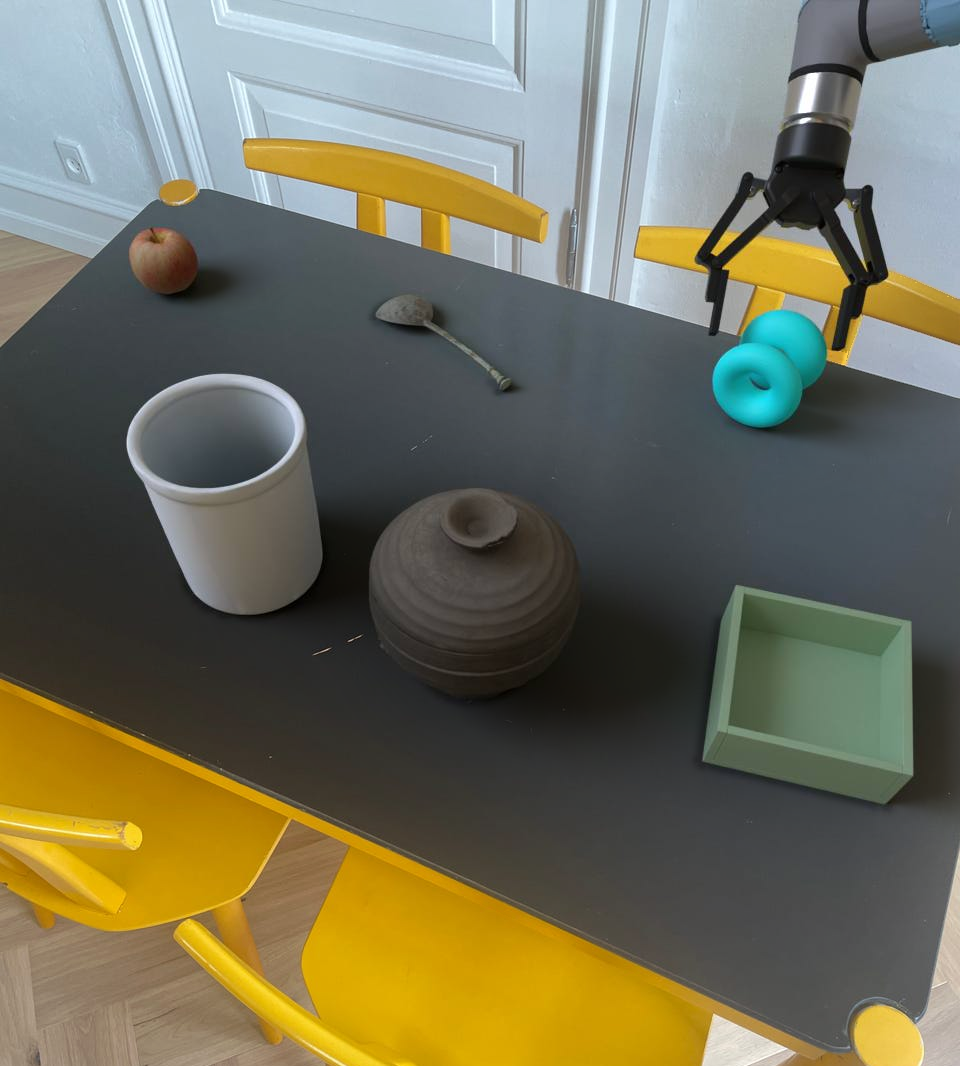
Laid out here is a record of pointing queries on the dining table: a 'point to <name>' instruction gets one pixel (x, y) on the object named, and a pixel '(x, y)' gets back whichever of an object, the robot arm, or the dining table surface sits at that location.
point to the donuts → (770, 368)
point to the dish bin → (812, 695)
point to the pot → (474, 591)
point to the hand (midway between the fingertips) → (775, 342)
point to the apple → (163, 260)
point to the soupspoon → (428, 325)
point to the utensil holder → (231, 489)
